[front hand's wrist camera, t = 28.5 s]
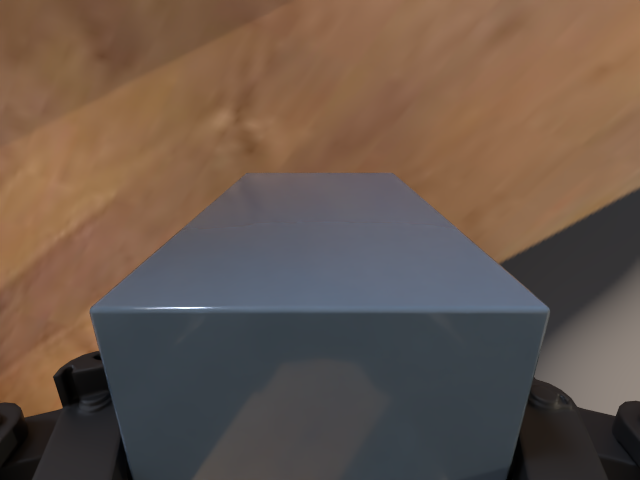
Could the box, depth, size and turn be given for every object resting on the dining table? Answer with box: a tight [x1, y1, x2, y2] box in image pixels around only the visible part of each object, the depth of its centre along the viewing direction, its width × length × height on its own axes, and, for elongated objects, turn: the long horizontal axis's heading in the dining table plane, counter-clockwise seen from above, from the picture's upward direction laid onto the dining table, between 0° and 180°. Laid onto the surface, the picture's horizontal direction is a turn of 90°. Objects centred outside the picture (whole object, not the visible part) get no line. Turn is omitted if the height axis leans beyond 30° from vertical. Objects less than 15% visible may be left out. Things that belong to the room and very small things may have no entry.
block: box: [90, 173, 550, 480], centre depth 12 cm, size 8×6×11 cm
